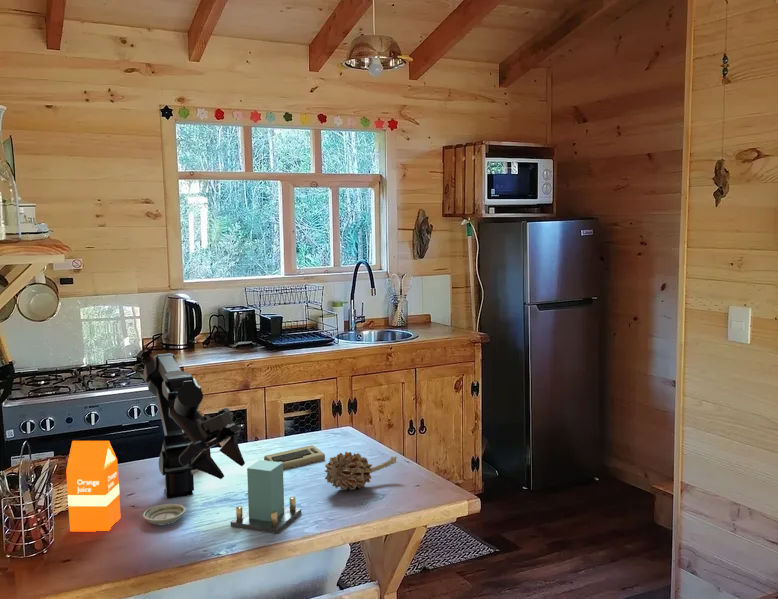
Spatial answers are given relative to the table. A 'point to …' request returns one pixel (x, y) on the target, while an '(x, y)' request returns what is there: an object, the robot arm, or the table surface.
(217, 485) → the table surface
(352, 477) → the pine cone
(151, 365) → the robot arm
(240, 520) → the plate
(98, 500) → the orange juice
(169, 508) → the saucer
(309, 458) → the computer
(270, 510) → the teal block
